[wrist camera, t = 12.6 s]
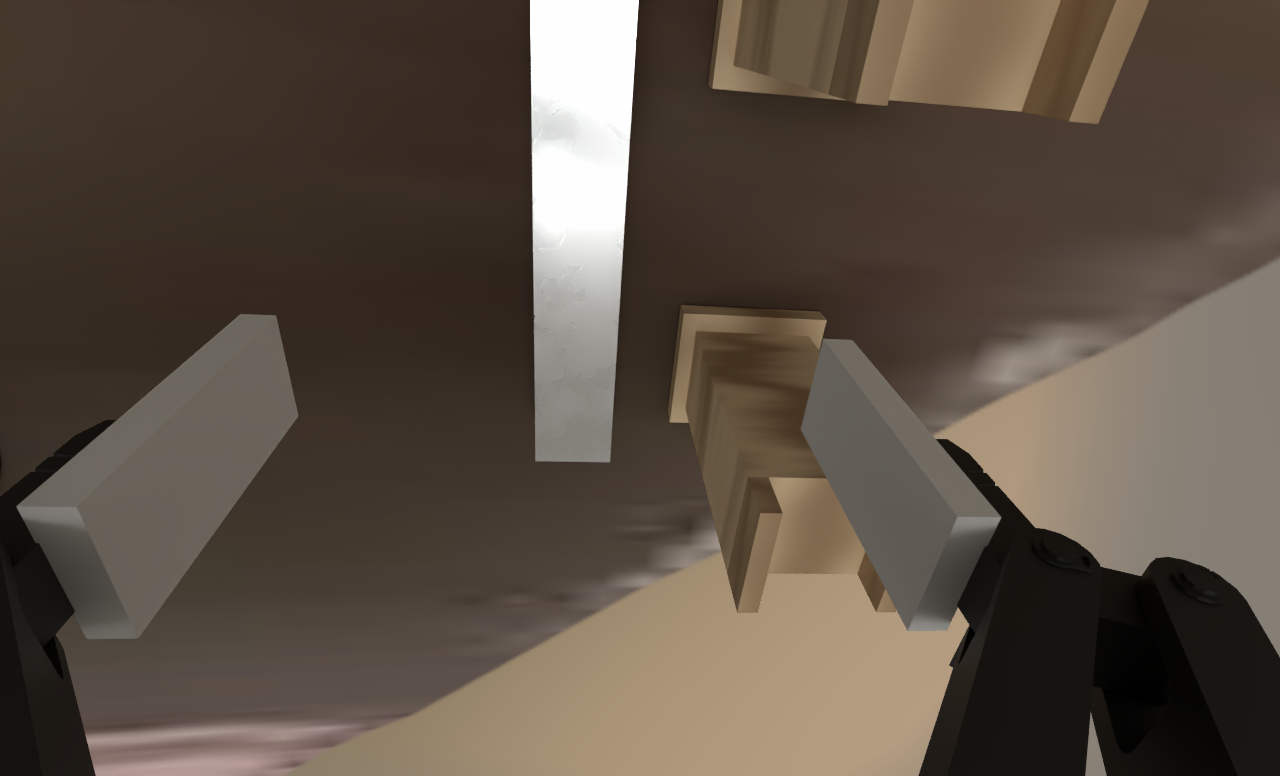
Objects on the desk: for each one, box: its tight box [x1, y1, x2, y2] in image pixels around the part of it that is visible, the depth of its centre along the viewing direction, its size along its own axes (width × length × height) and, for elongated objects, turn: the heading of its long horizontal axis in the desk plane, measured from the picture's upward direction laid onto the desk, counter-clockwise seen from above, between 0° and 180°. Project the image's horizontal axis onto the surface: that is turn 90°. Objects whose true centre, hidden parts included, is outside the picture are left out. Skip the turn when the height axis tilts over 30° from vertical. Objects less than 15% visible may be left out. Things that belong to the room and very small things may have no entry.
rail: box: [530, 0, 638, 462], centre depth 30 cm, size 4×26×5 cm, turn 176°
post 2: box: [708, 0, 1149, 124], centre depth 21 cm, size 8×7×16 cm
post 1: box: [668, 305, 896, 613], centre depth 30 cm, size 8×7×16 cm
